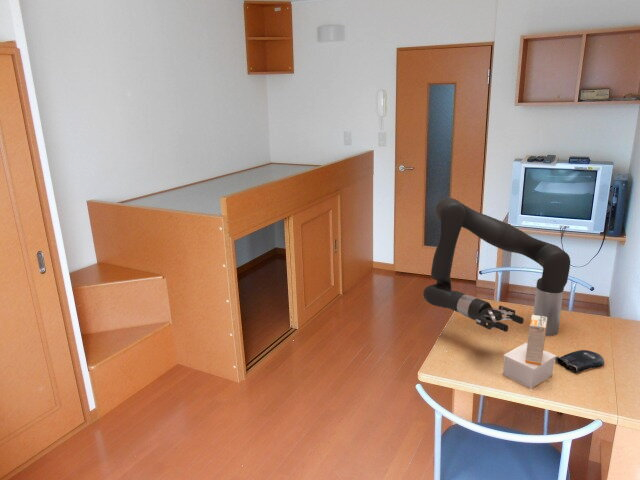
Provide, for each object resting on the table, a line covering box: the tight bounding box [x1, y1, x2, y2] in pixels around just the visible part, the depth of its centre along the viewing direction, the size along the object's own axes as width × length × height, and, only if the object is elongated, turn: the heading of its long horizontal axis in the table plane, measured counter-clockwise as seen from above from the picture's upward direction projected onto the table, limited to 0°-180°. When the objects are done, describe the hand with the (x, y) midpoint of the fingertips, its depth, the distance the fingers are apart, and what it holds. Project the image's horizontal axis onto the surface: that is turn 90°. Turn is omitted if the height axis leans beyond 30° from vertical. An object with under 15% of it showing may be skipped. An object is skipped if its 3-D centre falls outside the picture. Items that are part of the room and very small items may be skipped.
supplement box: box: [525, 314, 547, 365], centre depth 155 cm, size 8×5×13 cm, turn 154°
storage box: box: [502, 342, 557, 389], centre depth 159 cm, size 13×11×7 cm
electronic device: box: [554, 349, 605, 374], centre depth 165 cm, size 9×6×15 cm
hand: (515, 325), depth 160 cm, fingers open, 8 cm apart
